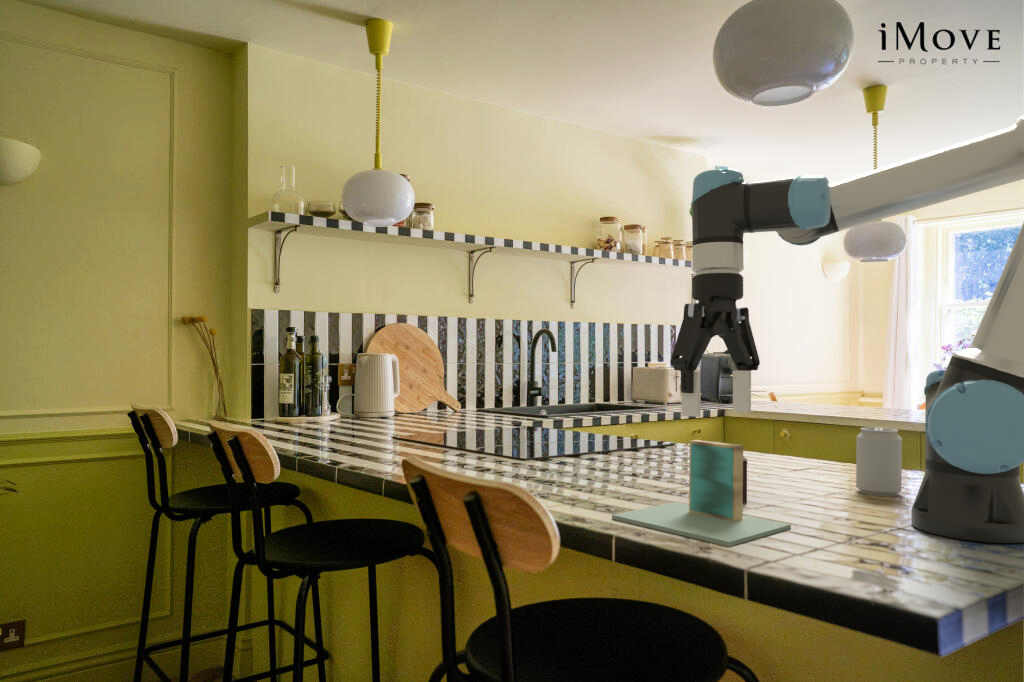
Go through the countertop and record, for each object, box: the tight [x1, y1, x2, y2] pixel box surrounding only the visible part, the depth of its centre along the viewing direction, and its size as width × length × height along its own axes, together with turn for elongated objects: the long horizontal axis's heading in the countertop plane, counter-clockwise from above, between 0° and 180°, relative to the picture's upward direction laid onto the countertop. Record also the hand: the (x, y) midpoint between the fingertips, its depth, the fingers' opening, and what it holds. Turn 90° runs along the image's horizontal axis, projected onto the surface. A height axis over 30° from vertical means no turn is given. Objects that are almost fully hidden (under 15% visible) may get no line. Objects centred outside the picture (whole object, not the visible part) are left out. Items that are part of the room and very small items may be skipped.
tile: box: [688, 439, 744, 522], centre depth 111 cm, size 8×2×11 cm, turn 41°
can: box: [855, 426, 903, 497], centre depth 135 cm, size 8×8×12 cm
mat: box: [611, 501, 792, 547], centre depth 108 cm, size 20×16×1 cm
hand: (717, 414), depth 111 cm, fingers open, 13 cm apart
